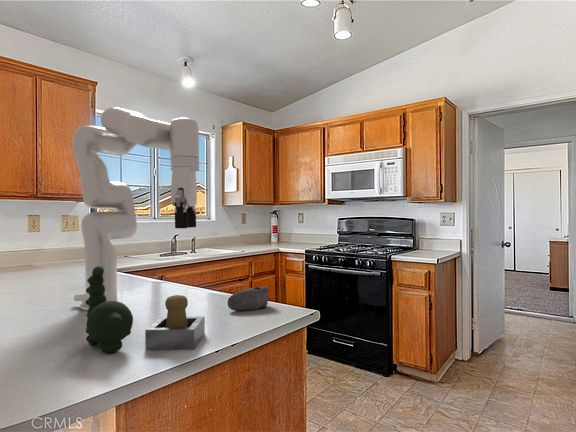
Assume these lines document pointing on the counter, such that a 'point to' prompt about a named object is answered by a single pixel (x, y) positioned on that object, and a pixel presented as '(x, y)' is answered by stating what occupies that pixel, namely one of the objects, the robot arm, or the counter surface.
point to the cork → (176, 311)
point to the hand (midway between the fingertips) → (186, 227)
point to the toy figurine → (105, 316)
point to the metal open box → (174, 335)
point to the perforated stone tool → (249, 299)
